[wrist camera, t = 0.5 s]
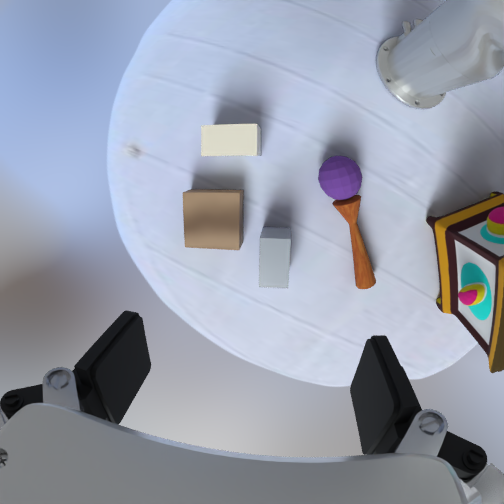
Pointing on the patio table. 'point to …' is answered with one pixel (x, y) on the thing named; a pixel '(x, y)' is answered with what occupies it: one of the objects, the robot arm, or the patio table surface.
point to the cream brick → (231, 140)
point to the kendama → (348, 209)
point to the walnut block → (213, 218)
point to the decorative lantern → (474, 271)
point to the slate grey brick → (274, 257)
